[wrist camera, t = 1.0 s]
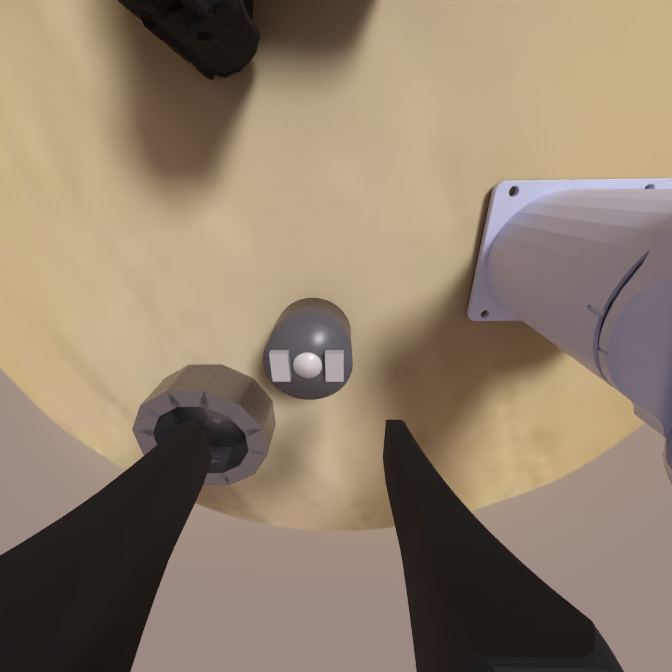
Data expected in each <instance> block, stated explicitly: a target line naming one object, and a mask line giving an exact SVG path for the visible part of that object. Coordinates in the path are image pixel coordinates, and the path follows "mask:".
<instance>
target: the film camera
mask: <svg viewBox="0 0 672 672" xmlns="http://www.w3.org/2000/svg"><path fill="white" fill-rule="evenodd" d="M118 1H119V2H120V3H121V4H123V5H124V6H125V7H126V8H127V9H128V10H130V11H131V12H132V13H133V14H134V15H136V16H137V17H138V18H139V19H141V20H142V21H143V24H144V26H145V27H146V28H147V29H149V30H150V31H151V32H152V33H153V34H154V35H156V36H157V37H158V38H159V39H160V40H163V41H164V42H165V43H166V44H167V45H168V46H169V47H170V48H172V49H173V50H174V51H175V52H176V53H177V54H179V55H180V56H181V57H183V58H184V59H185V60H186V61H187V62H188V63H192V64H193V65H194V66H195V67H196V69H197V70H199V71H200V72H201V73H202V74H203V75H204V76H205V77H206V78H208V79H211V80H213V78H214V75H217V76H220V77H227V76H229V75H231V74H233V73H235V72H239V71H241V70H242V68H243V67H244V66H245V65H246V64H248V63H249V62H250V61H251V59H252V58H253V56H254V55H255V53H256V50H257V47H258V43H259V40H260V33H259V31H258V28H257V27H256V26H255V25H253V23H252V18H253V0H118Z"/></svg>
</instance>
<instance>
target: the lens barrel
mask: <svg viewBox="0 0 672 672" xmlns="http://www.w3.org/2000/svg"><path fill="white" fill-rule="evenodd" d="M186 420H201V421H202V424H203V428H204V431H205V434H206V438H207V441H208V445H209V448H210V451H211V455H212V460H211V463H210V466H209V469H208V473H207V475H206V478H205V481H204V484H203V485H230V484H232V483H235V482H237V481H239V480H242V479H244V478H246V477H249V476H251V475H253V474H255V473H256V471H257V470H258V468H259V467H260V465H261V464H262V462H263V460H264V459H265V457H266V456H267V454H268V450H269V447H270V443H271V439H272V435H273V432H274V428H275V417H274V410H273V403H272V400H271V399H270V398H269V396H268V395H267V394H266V393H265V392H264V391H263V390H262V388H261V387H260V386H259V385H258V384H257V383H256V381H255V380H254V379H253V378H251V377H248V376H246V375H244V374H242V373H239V372H237V371H235V370H232V369H230V368H228V367H226V366H223V365H188V366H186V367H184V368H182V369H181V370H179V371H177V372H176V373H174V374H172V375H170V376H169V377H167V378H165V379H164V380H163V381H162V382H161V383H160V384H159V386H158V387H157V388H156V389H155V390H154V391H153V392H152V393H151V394H150V395H149V397H148V398H147V399H146V400H145V401H144V402H143V403H142V404H141V405H140V408H139V411H138V414H137V417H136V420H135V423H134V426H133V429H132V430H133V432H134V435H135V437H136V439H137V441H138V444H139V446H140V448H141V450H142V453H143V454H144V455H146V454H147V453H148V452H149V451H150V450H152V449H153V448H154V447H155V446H156V445H158V444H159V443H160V442H161V441H162V440H163V439H164V438H166V437H167V436H168V435H169V434H170V433H171V432H173V431H174V430H175V429H176V428H177V427H179V426H180V425H181V424H182V423H183V422H185V421H186Z"/></svg>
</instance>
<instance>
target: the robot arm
mask: <svg viewBox="0 0 672 672" xmlns="http://www.w3.org/2000/svg"><path fill="white" fill-rule="evenodd" d="M513 186H514V187H515V193H514V194H513V195H512V196H510V195H509V190H510V188H511V187H513ZM646 186H648V187H647V189H644V188H645V187H646ZM485 310H486V314H485V315H482V316H481V313H482V312H483V311H485ZM467 316H468V318H469V319H470V320H472V321H523V322H524V323H526V324H527V325H528V326H530V327H531V328H533V329H534V330H535V331H537V332H538V333H539V334H541V335H542V336H544V337H545V338H546V339H548V340H549V341H550V342H552V343H553V344H554V345H556V346H557V347H559V348H560V349H561V350H563V351H564V352H565V353H567V354H568V355H570V356H571V357H572V358H574V359H575V360H576V361H578V362H579V363H581V364H582V365H583V366H585V367H586V368H587V369H589V370H590V371H591V372H593V373H594V374H596V375H597V376H598V377H600V378H601V379H602V380H604V381H605V382H607V383H608V384H609V385H611V386H612V387H614V388H615V389H616V390H618V391H619V392H620V393H622V394H623V395H624V396H626V397H627V398H628V399H630V400H631V401H632V403H633V405H634V414H635V415H636V416H638V417H639V418H640V419H642V420H643V421H644V422H646V423H647V424H648V425H650V426H651V427H652V428H654V429H655V430H656V431H657V432H659V433H660V434H661V435H663V436H664V437H666V439H665V444H664V450H663V460H664V467H665V470H666V472H667V475H668V477H669V480H670V482H671V484H672V178H659V179H593V180H527V181H501V182H499V183H497V184H496V185H495V186H494V187H493V190H492V193H491V198H490V203H489V208H488V213H487V217H486V222H485V227H484V232H483V237H482V242H481V247H480V251H479V256H478V261H477V266H476V271H475V276H474V281H473V285H472V290H471V295H470V300H469V305H468V310H467ZM211 460H212V455H211V451H210V448H209V445H208V441H207V438H206V434H205V431H204V428H203V424H202V421H201V420H186V421H185V422H183V423H182V424H181V425H180V426H179V427H177V428H176V429H175V430H174V431H173V432H171V433H170V434H169V435H168V436H167V437H166V438H164V439H163V440H162V441H161V442H160V443H159V444H158V445H156V446H155V447H154V448H153V449H152V450H150V451H149V452H148V453H147V454H146V455H144V456H143V457H142V458H141V459H140V460H138V461H137V462H136V463H135V464H134V465H132V466H131V467H130V468H129V469H127V470H126V471H125V472H123V473H122V474H121V475H120V476H118V477H117V478H116V479H115V480H113V481H112V482H111V483H109V484H108V485H107V486H106V487H105V488H103V489H102V490H100V491H99V492H98V493H96V494H95V495H93V496H92V497H91V498H89V499H88V500H87V501H85V502H84V503H82V504H81V505H79V506H78V507H76V508H75V509H74V510H72V511H71V512H69V513H68V514H66V515H65V516H63V517H62V518H60V519H59V520H57V521H55V522H54V523H52V524H51V525H49V526H48V527H46V528H44V529H43V530H41V531H40V532H38V533H37V534H35V535H33V536H32V537H30V538H29V539H27V540H25V541H24V542H22V543H21V544H19V545H17V546H16V547H14V548H12V549H10V550H9V551H7V552H5V553H4V554H2V555H0V672H130V671H131V668H132V665H133V661H134V658H135V655H136V652H137V649H138V646H139V643H140V640H141V636H142V634H143V630H144V627H145V624H146V621H147V619H148V616H149V613H150V610H151V607H152V604H153V601H154V598H155V595H156V593H157V590H158V587H159V585H160V582H161V579H162V576H163V574H164V571H165V568H166V566H167V563H168V560H169V558H170V556H171V553H172V551H173V549H174V546H175V544H176V542H177V540H178V538H179V536H180V533H181V531H182V529H183V527H184V525H185V523H186V521H187V519H188V517H189V514H190V512H191V510H192V508H193V506H194V504H195V502H196V499H197V497H198V495H199V493H200V491H201V489H202V486H203V484H204V481H205V478H206V475H207V473H208V469H209V466H210V463H211ZM383 462H384V471H385V480H386V486H387V491H388V495H389V500H390V505H391V509H392V514H393V518H394V523H395V527H396V532H397V536H398V540H399V545H400V550H401V556H402V561H403V568H404V575H405V582H406V589H407V597H408V604H409V612H410V620H411V628H412V635H413V644H414V652H415V660H416V669H417V672H624V671H623V670H622V668H621V666H620V664H619V663H618V661H617V659H616V657H615V656H614V654H613V652H612V651H611V649H610V648H609V646H608V644H607V643H606V641H605V640H604V638H603V637H602V636H601V634H600V633H599V631H598V630H597V628H596V627H595V625H594V624H593V622H592V621H591V620H590V619H589V618H588V617H586V616H585V615H584V614H582V613H581V612H580V611H579V610H578V609H576V608H575V607H574V606H573V605H571V604H570V603H569V602H568V601H566V600H565V599H564V598H562V597H561V596H560V595H559V594H557V593H556V592H555V591H554V590H553V589H552V588H550V587H549V586H548V585H547V584H546V583H544V582H543V581H542V580H541V579H540V578H539V577H538V576H536V575H535V574H534V573H533V572H532V571H531V570H530V569H529V568H527V567H526V566H525V565H524V564H523V563H522V562H521V561H520V560H518V558H516V557H515V556H514V555H513V554H512V553H511V552H510V551H509V550H508V549H507V548H506V547H505V546H504V545H503V544H502V543H500V542H499V540H498V539H497V538H495V537H494V536H493V535H492V534H491V533H490V532H489V531H488V530H487V529H486V528H485V527H484V525H483V524H482V523H481V522H480V521H479V520H478V519H477V518H476V517H475V516H474V515H473V514H472V513H471V512H470V511H469V509H468V508H467V507H466V506H465V505H464V504H463V503H462V502H461V500H460V499H459V498H458V497H457V496H456V495H455V493H454V492H453V491H452V490H451V489H450V487H449V486H448V485H447V484H446V482H445V481H444V480H443V479H442V477H441V476H440V475H439V473H438V472H437V471H436V469H435V468H434V467H433V465H432V464H431V463H430V461H429V460H428V458H427V457H426V456H425V454H424V453H423V451H422V450H421V448H420V447H419V445H418V444H417V442H416V441H415V439H414V437H413V436H412V434H411V433H410V431H409V429H408V428H407V426H406V424H405V422H404V421H403V420H386V427H385V439H384V451H383Z"/></svg>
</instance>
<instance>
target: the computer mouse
mask: <svg viewBox="0 0 672 672" xmlns="http://www.w3.org/2000/svg"><path fill="white" fill-rule="evenodd" d="M263 364H264V369H265V371H266V374H267V376H268V378H269V379H270V380H271V382H272V383H273V384H274V385H275V386H276V387H277V388H278V389H279V390H281V391H282V392H284V393H286V394H288V395H290V396H293V397H296V398H300V399H310V400H311V399H320V398H324V397H327V396H330V395H332V394H334V393H336V392H337V391H338V390H340V389H341V388H342V387H343V386H344V385H345V384H346V382H347V381H348V379H349V377H350V375H351V371H352V365H353V364H352V347H351V331H350V324H349V321H348V319H347V317H346V315H345V314H344V313H343V311H342V310H341V309H340V308H339V307H337V306H336V305H335V304H333V303H331V302H329V301H327V300H323V299H319V298H306V299H301V300H298V301H296V302H294V303H292V304H291V305H289V306H288V307H287V308H286V309H285V310H284V311H283V313H282V314H281V316H280V318H279V320H278V322H277V324H276V326H275V329H274V331H273V333H272V335H271V337H270V339H269V341H268V343H267V345H266V348H265V351H264V356H263Z"/></svg>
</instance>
